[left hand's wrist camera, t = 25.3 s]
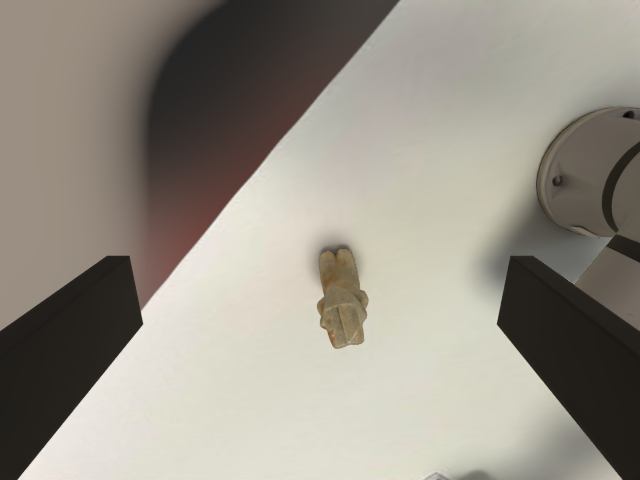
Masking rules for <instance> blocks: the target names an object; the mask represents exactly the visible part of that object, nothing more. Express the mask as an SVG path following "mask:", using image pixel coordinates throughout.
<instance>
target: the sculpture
mask: <svg viewBox="0 0 640 480" xmlns="http://www.w3.org/2000/svg"><path fill="white" fill-rule="evenodd" d="M319 268H320V277H321V283H322V288H323V293H324V297H323V298H322V299H321V300H320V301H319V302H318V304H317V309H318V312H319V314H320V315H321V319H320V326H321V327H322V328H324V329H326V330H327V332H328V335H329V339H330V341H331V343H332V345H333V347H334V348H336V349H339V348H343V347H346V346H348V345H358V344H361V343H363V342H364V332H363V326H362V324H363V322H364V320H365V319H366V318H367V312H366V310H365V309H366V307H367V305H368V297H367V294H366V293H365V291H362V290H360V283H359V277H358V273H357V268H356V264H355V261H354V258H353V254H352V252H351V251H350V250H348V249H339V250H338V251H337V254H336V255H334V254H333V253H332V252H330V251H326V252H324V253H323V254H321V256H320V258H319Z"/></svg>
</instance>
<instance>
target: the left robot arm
mask: <svg viewBox="0 0 640 480" xmlns="http://www.w3.org/2000/svg"><path fill="white" fill-rule="evenodd" d="M537 192H538V198H539V201H540V204H541V207H542V208H543V210H544V212H545V213H546V215H547V216H548V217H549V218H550V219H551V220H552V221H553V222H555V223H556V224H558V225H559V226H561V227H563V228H565V229H567V230H569V231H571V232H574V233H577V234H580V235H585V236H588V237H594V238H600V237H598V236H605V237H613V238H612V239H611V241H610V242H609V243H608V244H607V246H606V247H605V248H604V249H603V250H602V252H601V253H600V254H599V255H598V256H597V258H596V259H595V260H594V261H593V263H592V264H591V265H590V266H589V267H588V269H587V270H586V271H585V272H584V273H583V275H582V276H581V277H580V278H579V279H578V281H577V282H576V283H575V284H572V283H571V282H569V281H568V280H566V279H565V278H564V277H562V276H561V275H559V274H558V273H556V272H555V271H554V270H552V269H551V268H549V267H548V266H547V265H545V264H544V263H542V262H541V261H539V260H538V259H537V258H535V257H534V256H510V261H509V266H508V271H507V276H506V281H505V286H504V291H503V296H502V301H501V306H500V311H499V316H498V321H497V325H498V326H499V328H500V329H501V330H502V331H503V333H504V334H505V335H506V336H507V337H508V339H509V340H510V341H511V342H512V344H513V345H514V346H515V347H516V349H517V350H518V351H519V352H520V354H521V355H522V356H523V357H524V358H525V360H526V361H527V362H528V363H529V365H530V366H531V367H532V368H533V370H534V371H535V372H536V373H537V375H538V376H539V377H540V378H541V379H542V381H543V382H544V383H545V384H546V386H547V387H548V388H549V389H550V391H551V392H552V393H553V394H554V396H555V397H556V398H557V399H558V400H559V402H560V403H561V404H562V405H563V407H564V408H565V409H566V410H567V412H568V413H569V414H570V415H571V417H572V418H573V419H574V420H575V421H576V423H577V424H578V425H579V426H580V428H581V429H582V430H583V431H584V433H585V434H586V435H587V436H588V438H589V439H590V440H591V441H592V442H593V444H594V445H595V446H596V447H597V449H598V450H599V451H600V452H601V454H602V455H603V456H604V457H605V459H606V460H607V461H608V462H609V464H610V465H611V466H612V467H613V468H614V470H615V471H616V472H617V473H618V475H619V476H620V477H621V478H622V480H640V108H629V107H618V108H606V109H602V110H598V111H595V112H592V113H590V114H588V115H585V116H584V117H582V118H580V119H578V120H577V121H575V122H574V123H572V124H571V125H570V126H568V127H567V128H566V129H565V130H564V131H563V132H562V133H561V134H560V135H559V136H558V137H557V138H556V139H555V140H554V142H553V143H552V144H551V146H550V147H549V149H548V151H547V152H546V154H545V156H544V158H543V160H542V163H541V166H540V169H539V173H538V179H537ZM142 325H143V321H142V316H141V311H140V306H139V301H138V296H137V291H136V286H135V281H134V276H133V271H132V266H131V261H130V256H106V257H105V258H103V259H102V260H101V261H99V262H98V263H96V264H95V265H93V266H92V267H91V268H89V269H88V270H86V271H85V272H84V273H82V274H81V275H79V276H78V277H76V278H75V279H74V280H72V281H71V282H69V283H68V284H67V285H65V286H64V287H62V288H61V289H59V290H58V291H57V292H55V293H54V294H52V295H51V296H50V297H48V298H47V299H45V300H44V301H42V302H41V303H40V304H38V305H37V306H35V307H34V308H33V309H31V310H30V311H28V312H27V313H25V314H24V315H23V316H21V317H20V318H18V319H17V320H16V321H14V322H13V323H11V324H10V325H8V326H7V327H5V328H4V329H3V330H1V331H0V480H18V478H19V477H20V476H21V475H22V473H23V472H24V471H25V470H26V468H27V467H28V466H29V465H30V464H31V462H32V461H33V460H34V459H35V457H36V456H37V455H38V454H39V452H40V451H41V450H42V449H43V447H44V446H45V445H46V444H47V442H48V441H49V440H50V439H51V438H52V436H53V435H54V434H55V433H56V431H57V430H58V429H59V428H60V426H61V425H62V424H63V423H64V421H65V420H66V419H67V418H68V417H69V415H70V414H71V413H72V412H73V410H74V409H75V408H76V407H77V405H78V404H79V403H80V402H81V400H82V399H83V398H84V397H85V396H86V394H87V393H88V392H89V391H90V389H91V388H92V387H93V386H94V384H95V383H96V382H97V381H98V379H99V378H100V377H101V376H102V375H103V373H104V372H105V371H106V370H107V368H108V367H109V366H110V365H111V363H112V362H113V361H114V360H115V358H116V357H117V356H118V355H119V354H120V352H121V351H122V350H123V349H124V347H125V346H126V345H127V344H128V342H129V341H130V340H131V339H132V337H133V336H134V335H135V334H136V333H137V331H138V330H139V329H140V328H141V326H142Z"/></svg>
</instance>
